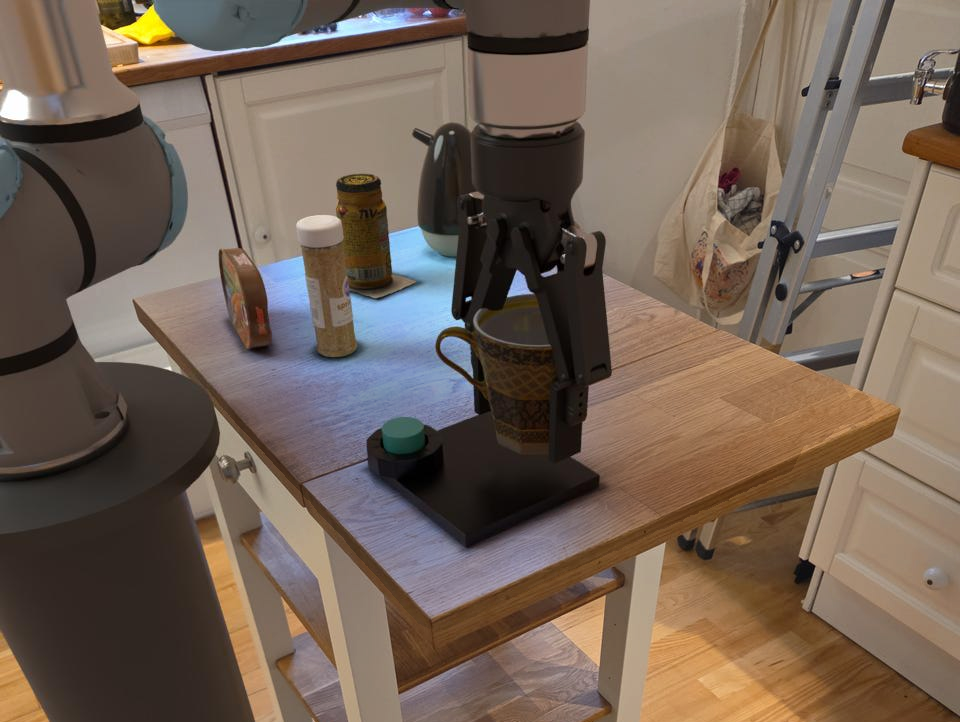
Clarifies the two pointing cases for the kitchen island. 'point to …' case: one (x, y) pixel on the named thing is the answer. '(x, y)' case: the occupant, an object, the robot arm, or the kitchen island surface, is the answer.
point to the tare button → (403, 435)
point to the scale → (477, 479)
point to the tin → (245, 297)
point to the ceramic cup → (512, 371)
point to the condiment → (366, 236)
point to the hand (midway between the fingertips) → (525, 431)
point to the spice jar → (327, 284)
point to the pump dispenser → (443, 184)
